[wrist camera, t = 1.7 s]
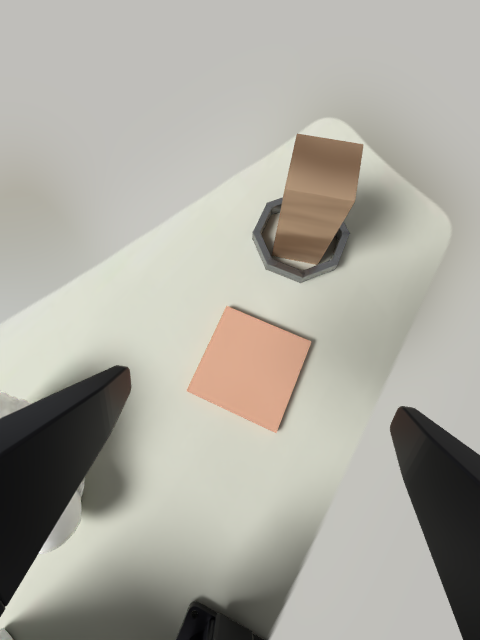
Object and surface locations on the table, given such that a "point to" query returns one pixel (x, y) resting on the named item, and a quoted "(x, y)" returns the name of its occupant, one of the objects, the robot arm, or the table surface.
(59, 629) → the table surface
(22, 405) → the white lumpy piece
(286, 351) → the terracotta mat
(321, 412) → the table surface
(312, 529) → the table surface
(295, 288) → the table surface
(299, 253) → the walnut block
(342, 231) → the metal ring
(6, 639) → the supplement box
